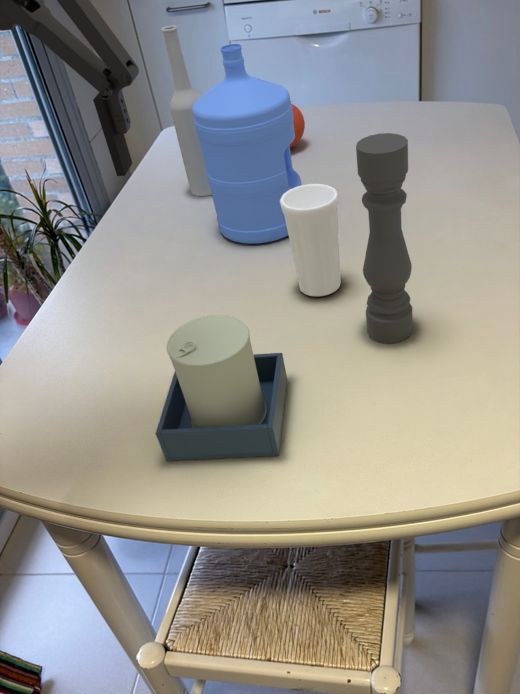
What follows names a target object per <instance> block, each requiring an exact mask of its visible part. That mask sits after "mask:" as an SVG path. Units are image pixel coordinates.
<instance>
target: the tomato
mask: <svg viewBox="0 0 520 694" xmlns="http://www.w3.org/2000/svg"><path fill="white" fill-rule="evenodd" d="M290 102H291V104H292V110H293V119H294V120H293V124H294V131H295V138H294V140H293V142H292V143H291V144H290V145H289V146H290V149H291V148H293V147H295V146H296V145H297V144H298V143H299V142H300V141H301V139H303V137H304V133H305V128H306V122H305V117H304V115H303V112H302V111H301V109H300V108H298V107H297V106H296V105H295V104H293V103H292V102H293V100H290Z"/></svg>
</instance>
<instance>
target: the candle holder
mask: <svg viewBox="0 0 520 694" xmlns="http://www.w3.org/2000/svg"><path fill="white" fill-rule="evenodd" d="M355 152H356V163H357V164H356V167H357V175H358V177H359V179H360V182H361V184H362V185H363V186H364V189H365V191H366V192H364V193H363V194H362V196H361V203H362V205H363V207H364V208H366V210H367V213H368V227H369V232H368V239H367V244H366V251H365V256H364V260H363V266H362V274H363V277H364V279H365V282H366V284H368V286H369V287H370V290H371V292H370V294H369V295H368V296H367V299H366V309H365V320H366V321H365V322H366V334H367V335H368V337H369V338H370V339H371V340H373V341H374V342H377V343H381V344H395V343H401V342H403V341H404V340H407V339H408V338H409V337H410V336H411V335H412V333H413V328H414V326H413V325H414V322H413V318H414V317H413V316H414V315H413V306H412V304H411V296H410V295H409V293H408V292H407V291H406V290H405V289H406V284H407V283H408V281H409V280H410V279H411V278H410V277H411V274H412V268H413V267H412V261H411V259H410V253H409V251H408V246H407V244H406V238H405V235H404V233H403V229H402V226H403V225H402V208H403V206H404V205H405V203H407V198H408V195H407V192H406V191H405V190H404V189H403V188H402V187H403V184H404V182H405V180H406V177H407V174H408V172H409V140H408V138H407V137H406V136H404V135H401V134H399V133H393V132H392V133H391V132H386V133H385V132H384V133H376V134H370V135H368V136H364V137H362V138H361V139H360V140H358V141H357V142H356V145H355Z"/></svg>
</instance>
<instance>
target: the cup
mask: <svg viewBox="0 0 520 694" xmlns="http://www.w3.org/2000/svg"><path fill="white" fill-rule="evenodd" d="M339 197H340V196H339V193H338V190H337V189H335V188H334V187H332V186H331V185H327V184H322V183H309V184H308V183H307V184H302V186H298V187H295V188H293V189H290V190H288V191H287V192H286V193H284V194H283V195H282V197H281V199H280V204H281V208H282V211H283V214H284V216H285V221H286V225H287V230H288V239H289V240H288V241H289V244H290V248H291V253H292V254H291V255H292V259H293V263H294V268H295V273H296V278H297V282H298V285H299V286H298V288H299V291H300V292H302V294H304V295H307V296H310V297H325V296H328V295H330V294H333V293H335V292H336V291H337V290H338V289H339V288H340V286H341V283H342V282H341V260H340V259H341V258H340V239H339V238H340V237H339V215H338V213H339V212H338V205H339Z"/></svg>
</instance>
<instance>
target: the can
mask: <svg viewBox="0 0 520 694" xmlns="http://www.w3.org/2000/svg"><path fill="white" fill-rule="evenodd" d="M166 352H167V354H168V356H169V359H170V361H171V364H172V366H173V369H174V372H176V375H177V378H178V381H179V384H180V387H181V389H182V392H183V395H184V398H185V401H186V404H187V407H188V410H189V413H190V417H191V423H192V427H193V428H204V427H223V426H242V425H261V424H262V423H263V421H264V419H265V417H266V414H267V406H266V403H265V401H264V399H263V395H262V391H261V387H260V383H259V378H258V374H257V369H256V365H255V360H254V356H253V354H254V352H253V347H252V342H251V336H250V329H249V327H248V326H247V324H246V323H245V322H244V321H243V320H241V319H239V318H238V317H236V316H231V315H227V314H211V315H205V316H200V317H197V318H194V319H192V320H189V321H187V322H185V323H184V324H182V325H181V326H179V327H178V328H176V329H175V330H174V331H173V333H171V335H170V336H169V338H168V340H167V342H166Z"/></svg>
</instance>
